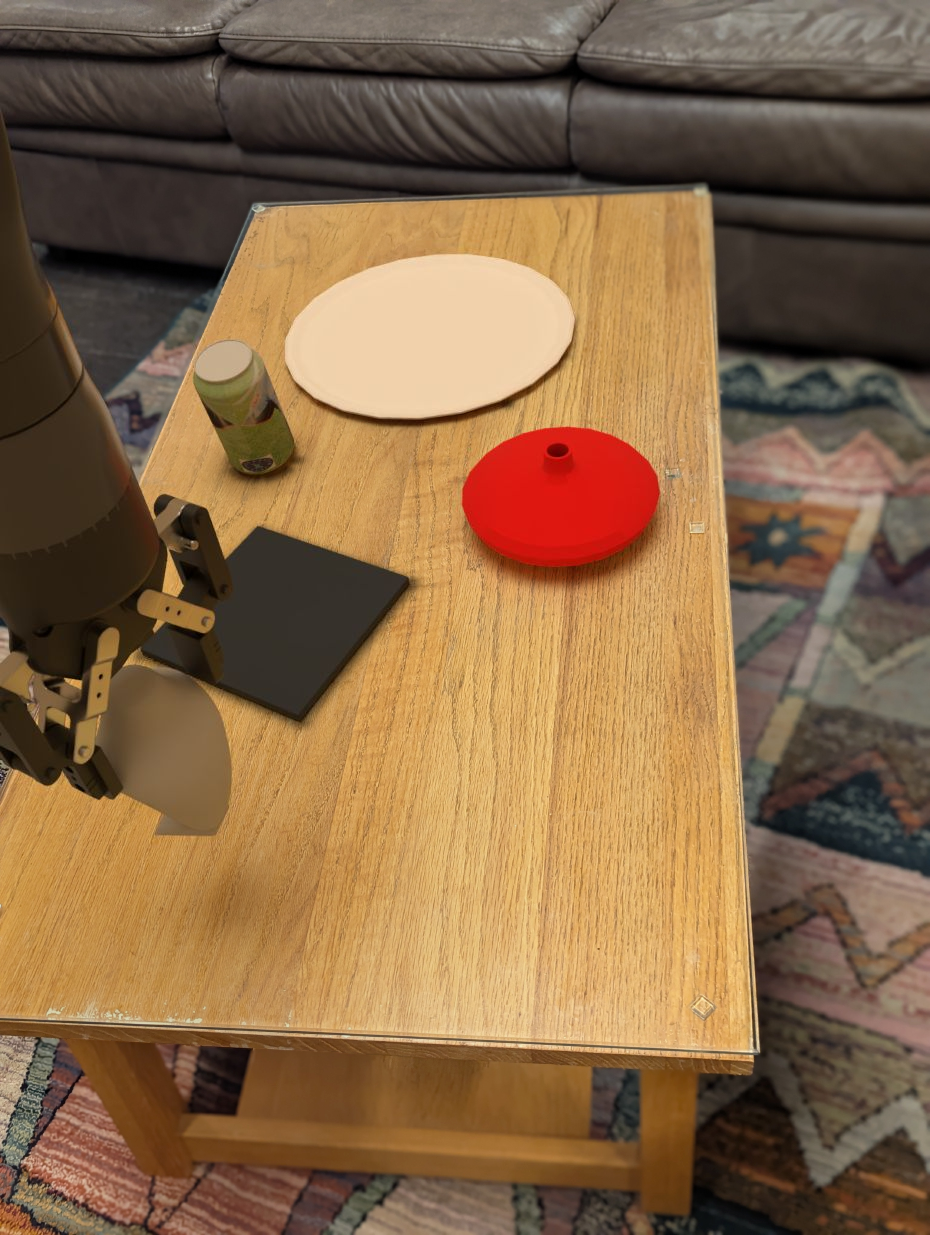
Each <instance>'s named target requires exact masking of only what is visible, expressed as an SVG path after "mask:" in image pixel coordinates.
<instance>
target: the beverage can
mask: <svg viewBox="0 0 930 1235" xmlns="http://www.w3.org/2000/svg"><path fill="white" fill-rule="evenodd" d="M193 369H194V370H193V375H192V382H193V386H194V389H195V391H196V394H197V395H198V397H199V399H200V401H201V404H202V405H203V408H204V410H205V412H206V414H207V416H208V419H209V420H210V422H211V424H212V427H213V428H214V431H215V432H216V436H217V437H218V439H219V442H220V443H221V445H222V448H223V450H224V451H225V454H226V455H227V458H228V460H229V463H230V464H231V465H232V467H233V468H234V469H235V470H237V471H239V472H240V473H243V474H247V475H263V474H267V473H270V472H273V471H275V470H276V469H279V468H280V467H281V466H282V465H284V464H285V463H286V462H287V461H288V460H289V459H290V457H291V456H292V454H293V452H294V448H295V438H294V435H293V433H292V430H291V427H290V425H289V422H288V420H287V418H286V414H285V413H284V410H283V408H282V405H281V403H280V400H279V398H278V395H277V392H276V390H275V387H274V385H273V383H272V380H271V378H270V375H269V372H268V370H267V366H266V364H265V362H264V359H263V358H262V356H261V355H260V354H259V353H258V352H257V351H256V350H254V349H253V348H251V347H250V345H249V344H247V343H246V342H245V341H242V340H240V339H235V338H234V339H233V338H228V339H222V340H218V341H215V342H213V343H211V344H209V345H207V346H206V347H204V348H203V349H202V350H200V352H199V353H198V355H197V356H196V357H195V360H194V365H193Z"/></svg>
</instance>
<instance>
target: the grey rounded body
mask: <svg viewBox="0 0 930 1235" xmlns="http://www.w3.org/2000/svg"><path fill="white" fill-rule="evenodd" d="M95 745H97V746H99V747H101V748H102V750H103V752H104V754H105V755H106V757H107V759H108V761H109V763H110V764H111V766H112V768H113V770H114V771H115V773H116V775H117V777H118V778H119V780H120V782H121V784H122V786H123V788H124V789H123V790H122V791H121V792H120V793H121V794H123V795H125V796H126V797H128V798H130V799H132V800H135V801H137V802H138V803H140V804H142V805H144V806H146V807H149V808H151V809H153V810H154V811H157V812H159V813H160V814H163V815H162V817H161V818H160V820H159V823H158V824H157V827H156V829H155V830H154V835H155V836H169V837H170V836H171V837H172V836H174V837H179V836H181V837H215V836H217V835H218V832H219V830H220V828H221V826H222V823H223V822H224V820H225V818H226V815H227V813H228V811H229V809H230V800H231V792H232V783H233V782H232V781H233V780H232V779H233V778H232V777H233V776H232V775H233V774H232V773H233V770H232V769H233V768H232V757H231V750H230V749H231V748H230V745H229V740H228V736H227V731H226V728H225V723H224V720H223V717H222V714H221V713H220V710H219V708H218V706H217V704H216V703H215V701H214V700H213V698H212V697H211V695H210V694H209V693H208V691H207V690H206V689H205V688H204V687H203V686H202V685H201V684H200V683H199V682H198V681H196V680H195V679H194V678H192V676H190V675H189V674H187V673H185V672H182V671H180V670H178V669H175V668H172V667H163V666H154V667H149V666H146V665H142V664H134V663H133V664H127V665H126V664H125V665H123V667H122V668H121V669H120V670H119V671H118V672H117V673H116V674H115V675H114V676H113V677H112V678H111V680H110V688H109V697H108V706H107V711H106V712H105V713H104V714H102V715H100V718H99V724H98V727H97V730H96V739H95ZM120 793H119V794H120Z"/></svg>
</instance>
